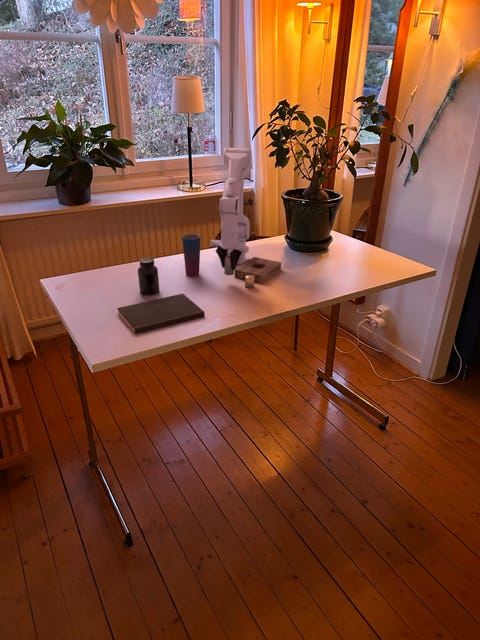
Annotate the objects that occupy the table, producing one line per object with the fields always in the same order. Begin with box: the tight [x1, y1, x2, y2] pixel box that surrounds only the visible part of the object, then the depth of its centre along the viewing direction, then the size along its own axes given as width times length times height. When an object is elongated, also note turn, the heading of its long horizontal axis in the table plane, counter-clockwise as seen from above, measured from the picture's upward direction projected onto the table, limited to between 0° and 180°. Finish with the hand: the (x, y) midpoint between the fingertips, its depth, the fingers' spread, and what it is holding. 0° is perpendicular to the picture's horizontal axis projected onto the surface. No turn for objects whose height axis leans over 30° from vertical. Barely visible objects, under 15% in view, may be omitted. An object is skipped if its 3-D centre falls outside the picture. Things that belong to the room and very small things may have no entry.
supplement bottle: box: [137, 257, 160, 296], centre depth 161 cm, size 7×7×12 cm
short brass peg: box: [244, 275, 255, 290], centre depth 169 cm, size 3×3×4 cm
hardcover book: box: [116, 293, 206, 335], centre depth 149 cm, size 16×23×2 cm
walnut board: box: [234, 256, 282, 284], centre depth 180 cm, size 12×16×3 cm
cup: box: [181, 233, 201, 278], centre depth 175 cm, size 7×7×15 cm
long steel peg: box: [223, 254, 235, 276], centre depth 169 cm, size 3×3×7 cm
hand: (229, 268), depth 169 cm, fingers closed on long steel peg, 3 cm apart
